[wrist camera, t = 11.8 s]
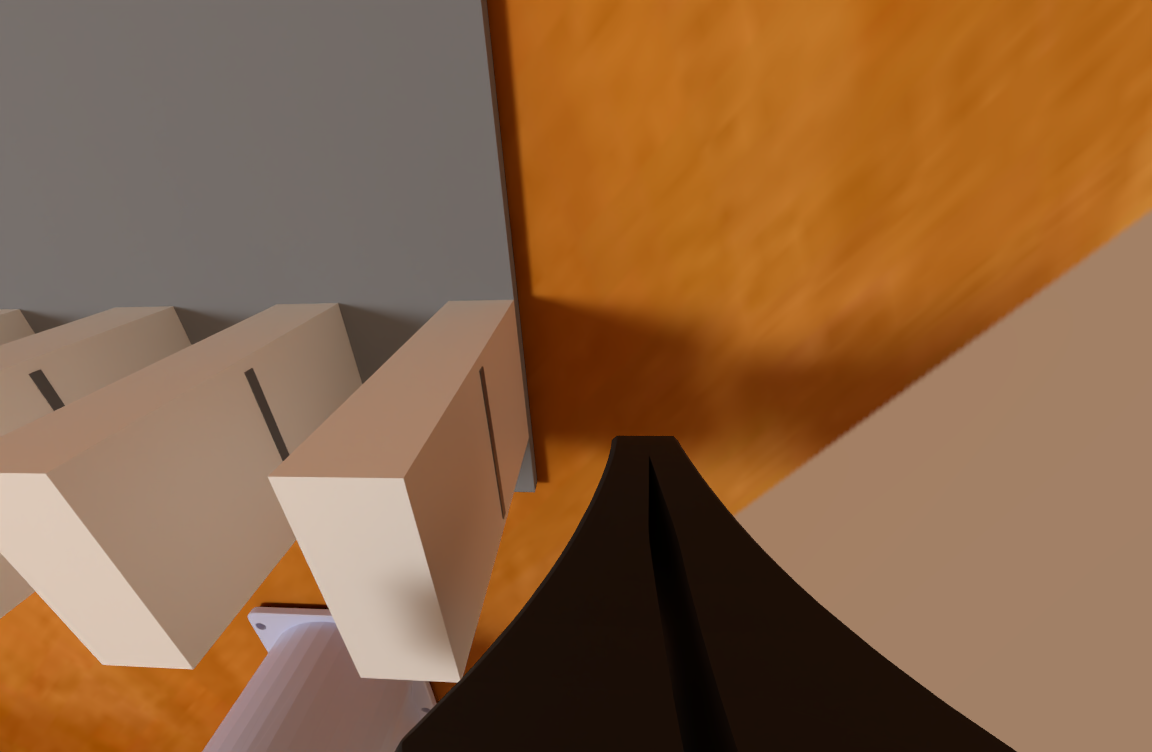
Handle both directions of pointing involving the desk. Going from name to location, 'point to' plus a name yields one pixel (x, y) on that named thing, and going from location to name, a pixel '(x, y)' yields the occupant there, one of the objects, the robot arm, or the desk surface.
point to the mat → (253, 164)
